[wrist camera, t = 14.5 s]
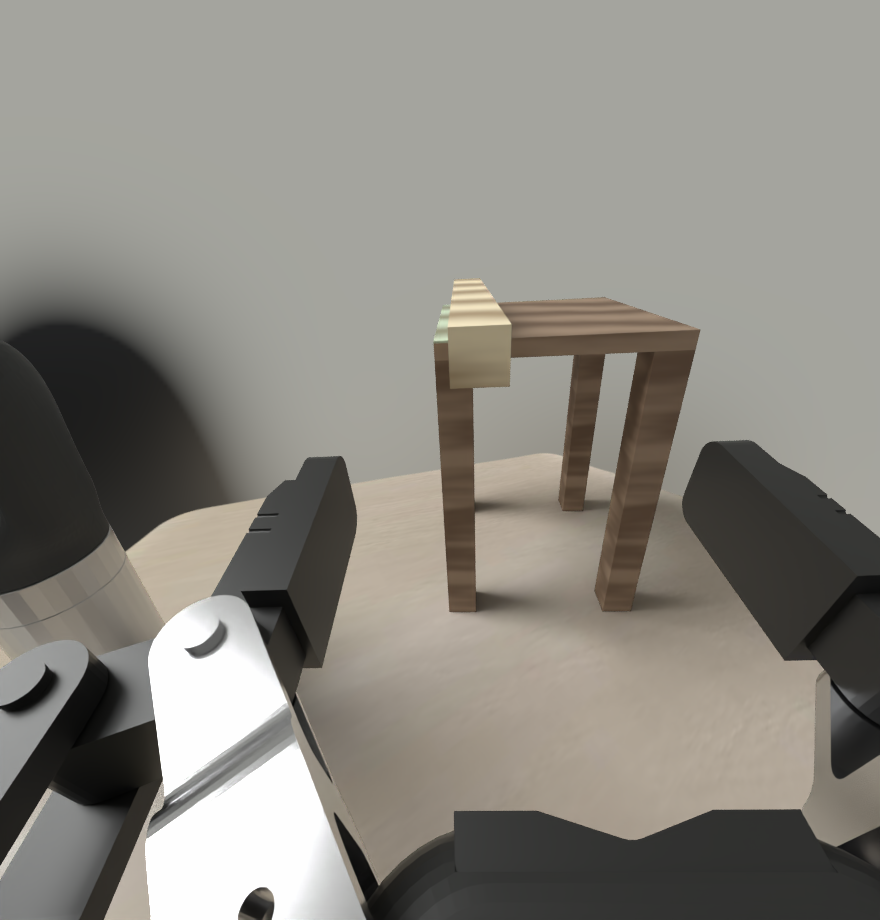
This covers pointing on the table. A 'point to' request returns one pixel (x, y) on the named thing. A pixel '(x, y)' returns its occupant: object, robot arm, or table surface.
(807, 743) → the table surface
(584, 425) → the walnut stand
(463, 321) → the maple rod
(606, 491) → the table surface
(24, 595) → the robot arm
